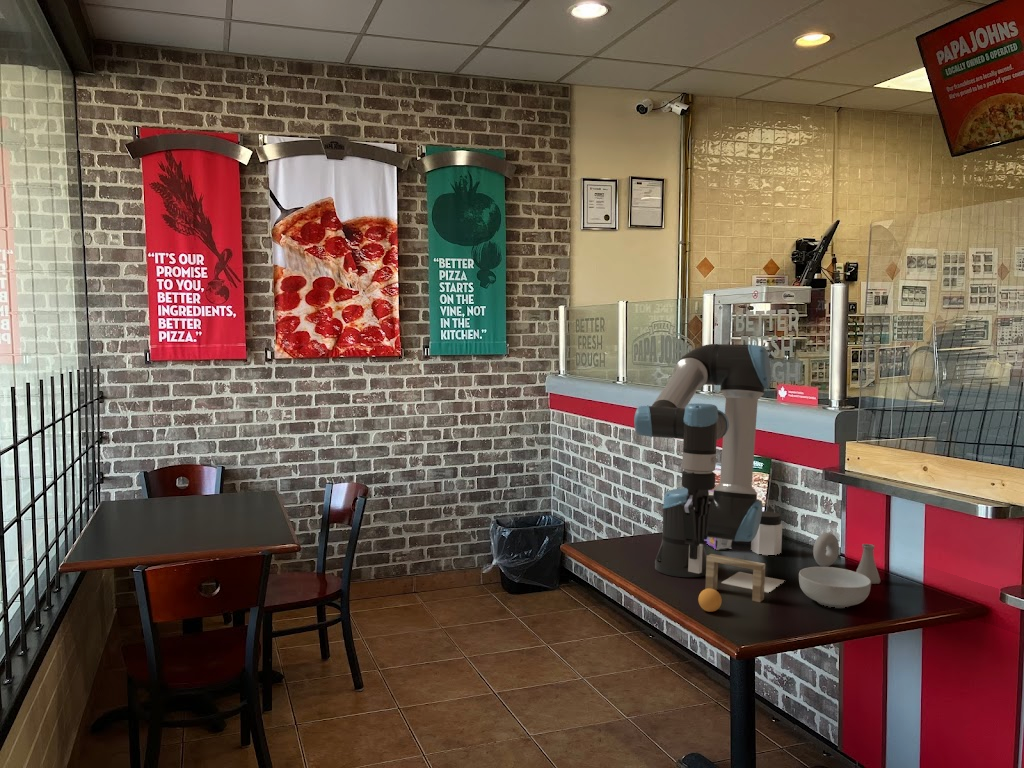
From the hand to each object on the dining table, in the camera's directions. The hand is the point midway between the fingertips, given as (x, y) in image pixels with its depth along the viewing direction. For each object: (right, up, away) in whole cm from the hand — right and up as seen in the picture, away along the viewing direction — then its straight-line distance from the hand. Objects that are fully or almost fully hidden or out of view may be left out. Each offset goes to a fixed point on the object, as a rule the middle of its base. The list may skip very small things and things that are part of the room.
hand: (694, 571), depth 192 cm
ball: (+6, -9, +9) cm, 14 cm away
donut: (+49, -10, +50) cm, 71 cm away
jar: (+36, -9, +64) cm, 74 cm away
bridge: (+15, -11, +22) cm, 28 cm away
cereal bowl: (+39, -12, +17) cm, 44 cm away
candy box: (+22, -8, +72) cm, 76 cm away
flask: (+56, -11, +37) cm, 67 cm away
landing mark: (+23, -10, +33) cm, 42 cm away
